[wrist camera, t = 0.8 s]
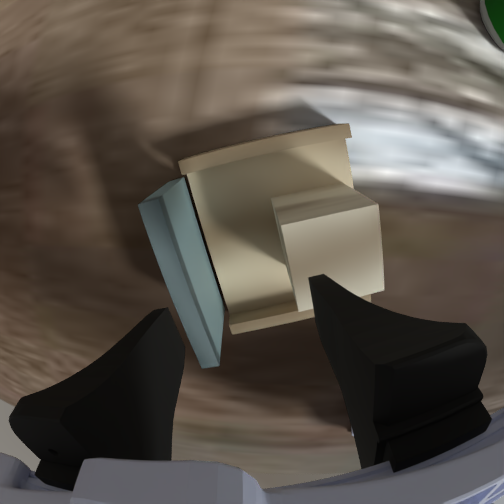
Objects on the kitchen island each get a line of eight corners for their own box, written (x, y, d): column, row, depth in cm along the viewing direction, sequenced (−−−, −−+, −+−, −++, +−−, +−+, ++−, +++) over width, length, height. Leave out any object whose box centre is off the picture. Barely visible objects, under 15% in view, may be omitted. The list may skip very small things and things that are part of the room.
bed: (359, 285, 22) (371, 302, 20) (233, 314, 23) (232, 334, 21) (336, 123, 18) (348, 123, 16) (186, 157, 19) (178, 161, 16)
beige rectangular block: (352, 249, 20) (384, 290, 15) (285, 265, 20) (298, 311, 15) (342, 182, 18) (378, 204, 13) (270, 198, 18) (280, 225, 13)
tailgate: (224, 308, 22) (219, 365, 16) (211, 310, 22) (202, 368, 16) (184, 177, 18) (158, 198, 13) (168, 181, 18) (137, 204, 13)
